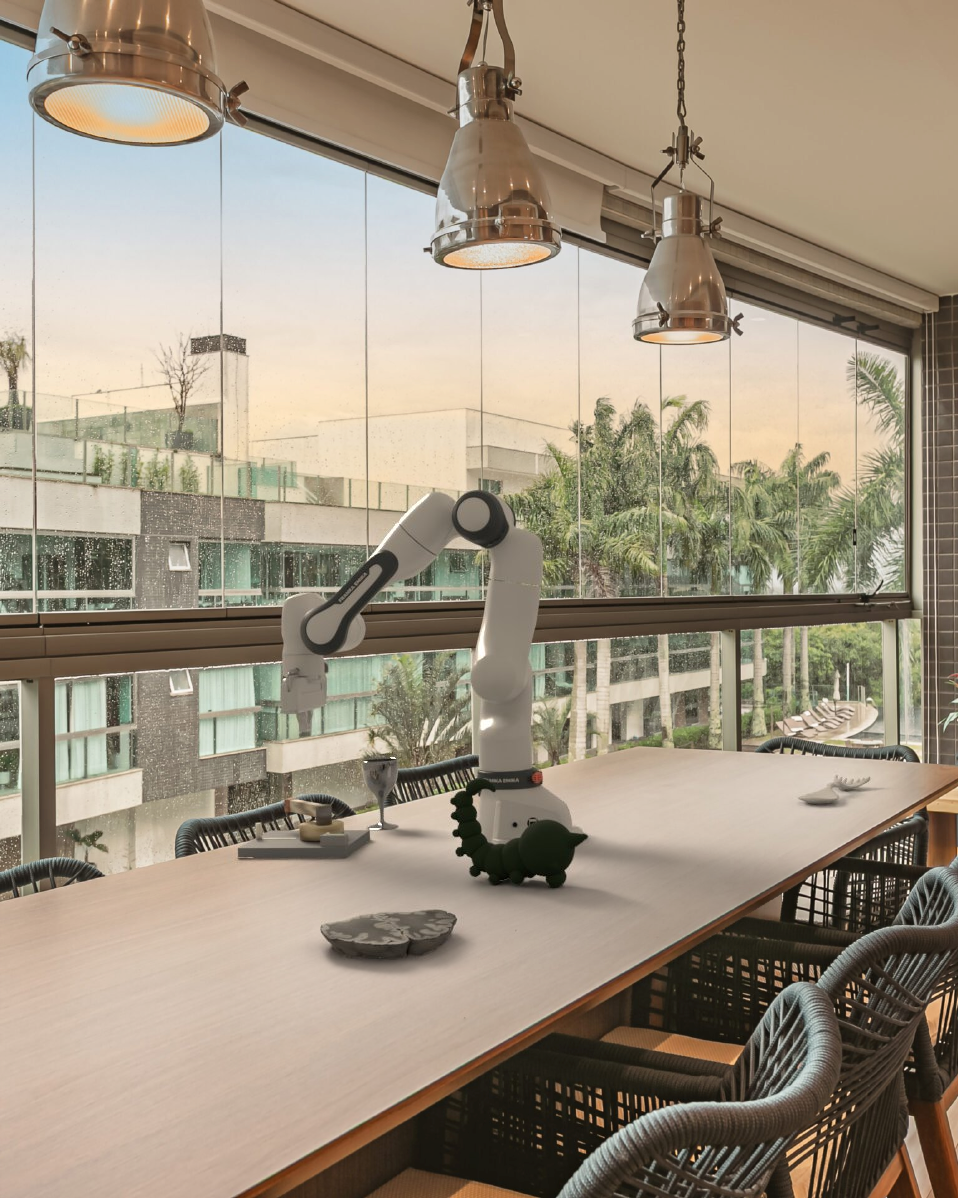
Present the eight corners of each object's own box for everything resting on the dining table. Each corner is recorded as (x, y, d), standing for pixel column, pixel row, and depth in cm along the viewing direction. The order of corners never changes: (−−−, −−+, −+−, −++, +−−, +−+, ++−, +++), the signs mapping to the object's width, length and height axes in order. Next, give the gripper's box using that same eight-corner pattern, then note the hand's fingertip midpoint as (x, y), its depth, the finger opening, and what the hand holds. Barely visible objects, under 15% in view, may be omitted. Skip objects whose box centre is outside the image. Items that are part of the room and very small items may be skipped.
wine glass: (394, 830, 246) (392, 761, 246) (359, 830, 248) (357, 762, 248) (404, 823, 254) (402, 757, 254) (370, 823, 255) (368, 757, 256)
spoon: (872, 789, 279) (871, 775, 279) (829, 809, 253) (829, 794, 253) (836, 787, 285) (835, 773, 285) (790, 807, 258) (790, 791, 259)
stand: (370, 839, 237) (369, 814, 237) (345, 858, 219) (344, 831, 219) (270, 840, 240) (269, 815, 240) (238, 858, 223) (237, 831, 223)
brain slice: (345, 975, 147) (344, 952, 147) (310, 943, 163) (310, 922, 163) (483, 953, 155) (482, 931, 155) (437, 924, 170) (437, 904, 170)
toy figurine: (450, 893, 194) (582, 893, 182) (437, 783, 196) (568, 775, 183) (477, 881, 203) (605, 880, 191) (465, 776, 204) (591, 768, 192)
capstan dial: (352, 836, 229) (351, 803, 229) (314, 843, 223) (313, 810, 224) (308, 826, 242) (307, 795, 242) (271, 832, 236) (270, 801, 237)
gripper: (301, 669, 234) (303, 736, 234) (331, 665, 254) (333, 726, 254) (272, 670, 235) (274, 737, 235) (304, 665, 255) (306, 727, 255)
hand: (305, 731), depth 245 cm, fingers closed
